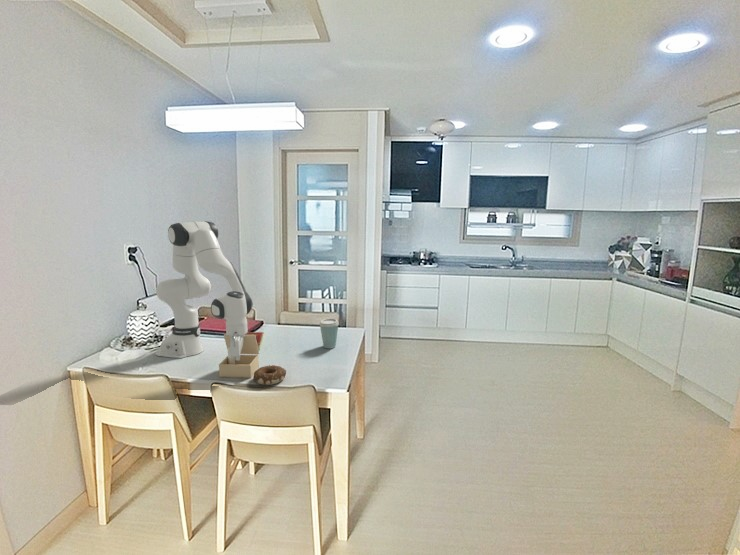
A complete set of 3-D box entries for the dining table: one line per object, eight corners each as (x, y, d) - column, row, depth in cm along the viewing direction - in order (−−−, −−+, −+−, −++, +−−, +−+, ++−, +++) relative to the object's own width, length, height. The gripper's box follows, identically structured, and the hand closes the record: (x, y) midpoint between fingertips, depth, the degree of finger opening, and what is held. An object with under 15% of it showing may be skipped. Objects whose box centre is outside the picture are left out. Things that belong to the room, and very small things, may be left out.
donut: (273, 389, 164) (273, 378, 163) (247, 383, 169) (246, 372, 168) (292, 376, 177) (292, 365, 176) (267, 371, 182) (267, 361, 181)
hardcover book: (236, 352, 205) (236, 344, 204) (242, 339, 225) (242, 332, 225) (260, 351, 207) (260, 343, 206) (263, 338, 228) (263, 331, 227)
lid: (223, 334, 178) (223, 334, 178) (228, 353, 185) (228, 353, 185) (255, 335, 178) (255, 334, 178) (258, 354, 185) (259, 353, 185)
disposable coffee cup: (329, 351, 208) (329, 324, 205) (315, 346, 214) (315, 320, 211) (342, 346, 216) (342, 320, 213) (328, 341, 222) (328, 316, 220)
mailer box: (219, 377, 174) (218, 353, 172) (229, 366, 186) (228, 344, 184) (250, 378, 174) (250, 354, 172) (258, 367, 186) (258, 345, 184)
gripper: (242, 336, 160) (243, 368, 163) (246, 322, 180) (247, 350, 182) (225, 337, 159) (227, 369, 161) (232, 322, 178) (233, 351, 181)
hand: (238, 359), depth 172 cm, fingers closed
